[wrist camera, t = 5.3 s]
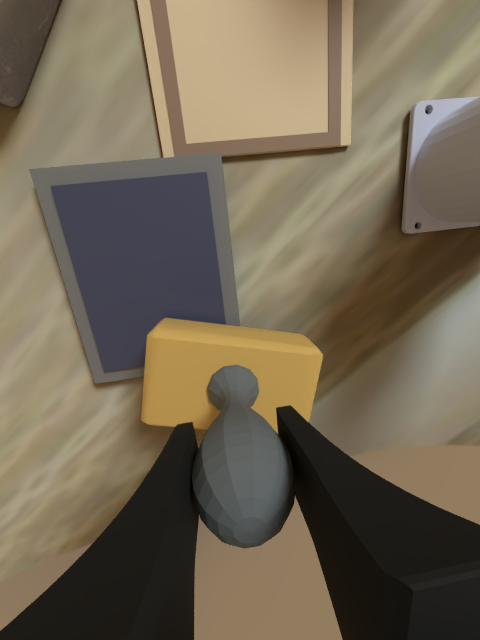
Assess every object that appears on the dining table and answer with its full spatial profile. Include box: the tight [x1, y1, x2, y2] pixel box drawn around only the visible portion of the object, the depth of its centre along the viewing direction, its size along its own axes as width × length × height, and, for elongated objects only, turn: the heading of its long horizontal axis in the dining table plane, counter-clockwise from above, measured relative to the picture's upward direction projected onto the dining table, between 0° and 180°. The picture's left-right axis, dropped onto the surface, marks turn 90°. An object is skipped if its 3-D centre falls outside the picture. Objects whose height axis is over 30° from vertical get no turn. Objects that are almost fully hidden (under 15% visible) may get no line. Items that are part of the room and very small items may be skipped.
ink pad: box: [30, 153, 240, 384], centre depth 18 cm, size 11×14×1 cm
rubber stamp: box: [141, 318, 323, 548], centre depth 13 cm, size 10×6×12 cm, turn 82°
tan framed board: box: [137, 0, 353, 158], centre depth 15 cm, size 12×14×1 cm
